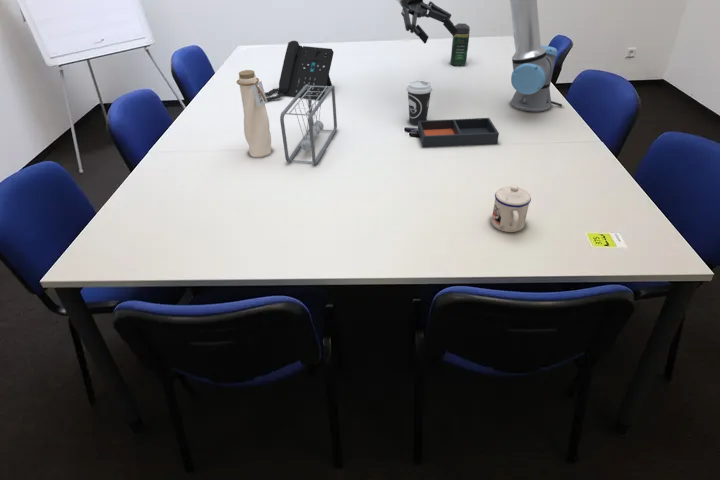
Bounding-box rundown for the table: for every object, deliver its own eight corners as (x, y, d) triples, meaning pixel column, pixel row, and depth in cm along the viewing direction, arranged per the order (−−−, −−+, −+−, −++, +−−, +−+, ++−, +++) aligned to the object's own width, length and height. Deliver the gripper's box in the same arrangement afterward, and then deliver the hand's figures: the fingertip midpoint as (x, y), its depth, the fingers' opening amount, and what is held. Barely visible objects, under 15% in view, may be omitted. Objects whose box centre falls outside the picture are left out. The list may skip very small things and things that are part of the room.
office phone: (248, 102, 206) (240, 54, 194) (281, 81, 227) (275, 36, 214) (308, 110, 197) (303, 60, 185) (336, 87, 217) (333, 41, 205)
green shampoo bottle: (466, 66, 235) (470, 26, 224) (450, 66, 236) (453, 26, 225) (466, 60, 243) (470, 22, 232) (450, 60, 244) (453, 22, 233)
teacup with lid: (488, 213, 132) (494, 177, 125) (521, 214, 132) (529, 177, 125) (494, 239, 123) (501, 201, 116) (530, 240, 122) (539, 202, 115)
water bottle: (280, 148, 169) (269, 69, 152) (269, 159, 162) (255, 78, 145) (255, 145, 172) (241, 66, 155) (243, 156, 165) (227, 75, 148)
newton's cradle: (311, 128, 182) (306, 82, 171) (337, 129, 180) (334, 83, 170) (285, 165, 159) (278, 114, 148) (315, 167, 157) (310, 116, 146)
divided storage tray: (487, 128, 177) (489, 117, 175) (497, 144, 167) (499, 133, 164) (417, 131, 177) (418, 120, 175) (422, 147, 166) (423, 136, 164)
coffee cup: (429, 127, 179) (431, 88, 170) (404, 126, 181) (405, 87, 172) (431, 117, 186) (433, 79, 177) (407, 116, 188) (408, 79, 179)
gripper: (431, 2, 185) (462, 38, 178) (379, 13, 174) (410, 52, 168) (438, -16, 178) (470, 21, 172) (384, -6, 168) (417, 34, 161)
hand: (441, 36), depth 170 cm, fingers open, 13 cm apart
